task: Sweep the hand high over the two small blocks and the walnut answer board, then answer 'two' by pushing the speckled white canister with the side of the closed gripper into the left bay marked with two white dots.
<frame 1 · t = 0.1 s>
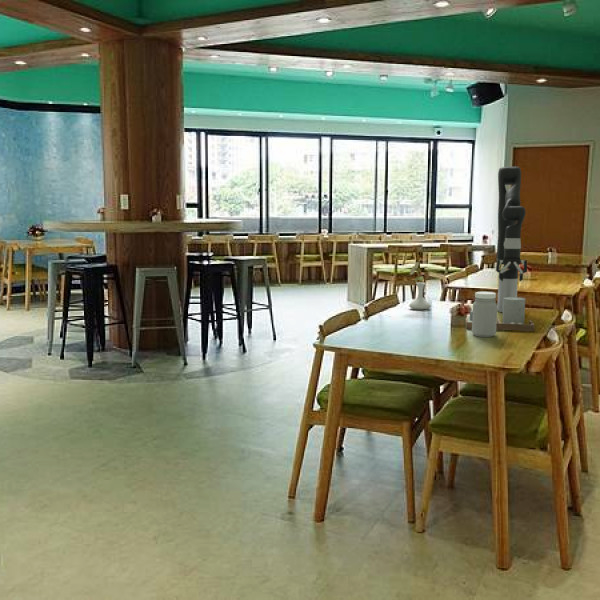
hand: (510, 281, 315), 17 cm above the table, tool pointing down, fingers open, 8 cm apart
block slate: (474, 319, 309), on the table
speckled white canister: (513, 325, 294), resting on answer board
jar: (483, 335, 272), on the table
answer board: (498, 327, 288), on the table
flower in vase: (418, 309, 338), on the table
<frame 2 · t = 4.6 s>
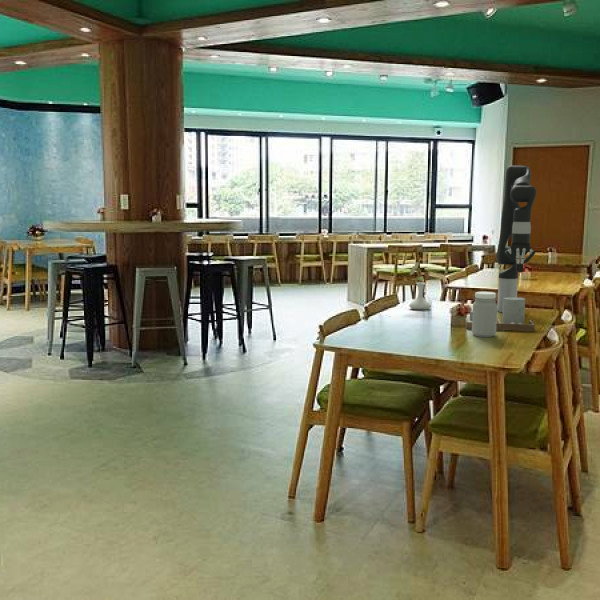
hand: (519, 272, 282), 25 cm above the table, tool pointing down, fingers closed
nothing on the table moved.
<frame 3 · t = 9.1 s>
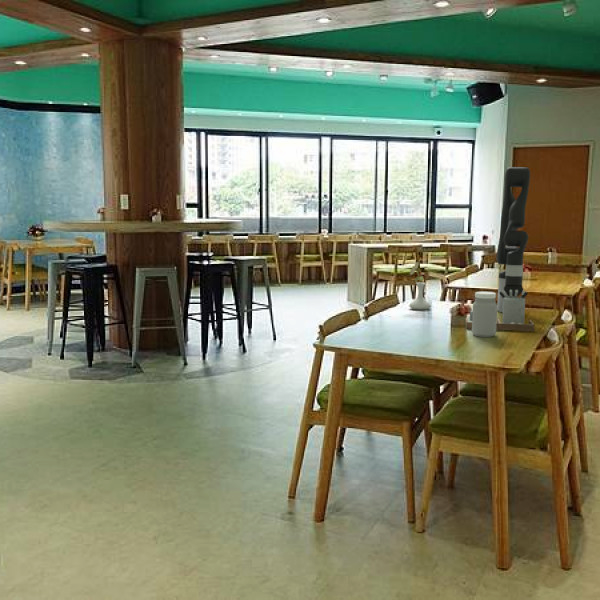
hand: (512, 311, 299), 5 cm above the table, tool pointing down, fingers closed
speckled white canister: (513, 325, 294), resting on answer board, touching gripper
everything else where it was.
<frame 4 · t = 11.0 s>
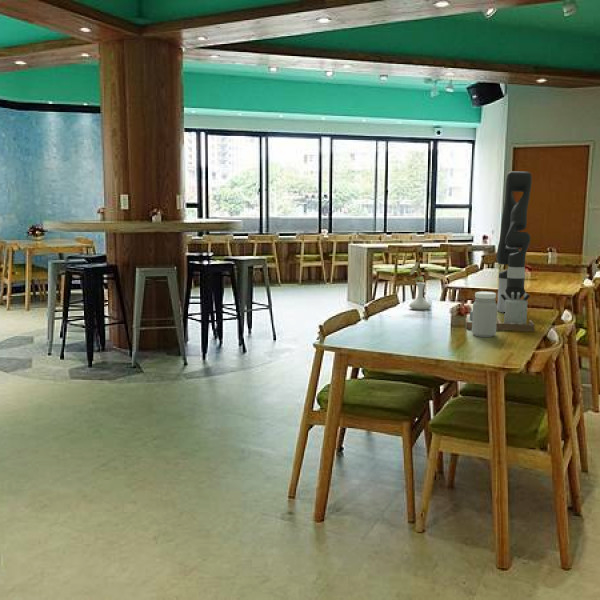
hand: (514, 314, 293), 5 cm above the table, tool pointing down, fingers closed
speckled white canister: (514, 328, 288), resting on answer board, touching gripper
everything else where it was.
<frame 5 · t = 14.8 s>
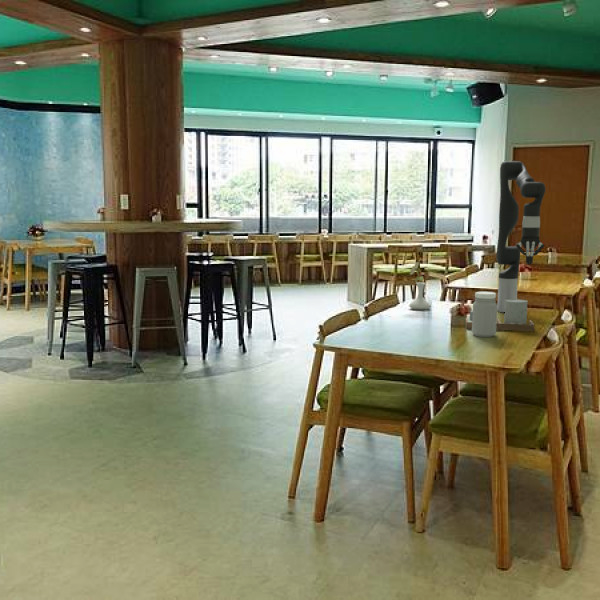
hand: (529, 264, 297), 27 cm above the table, tool pointing down, fingers closed
speckled white canister: (514, 328, 288), resting on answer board
everything else where it was.
at the end: speckled white canister inside the target area (1.5 cm from its centre), resting on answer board; speckled white canister tilted 0° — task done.
